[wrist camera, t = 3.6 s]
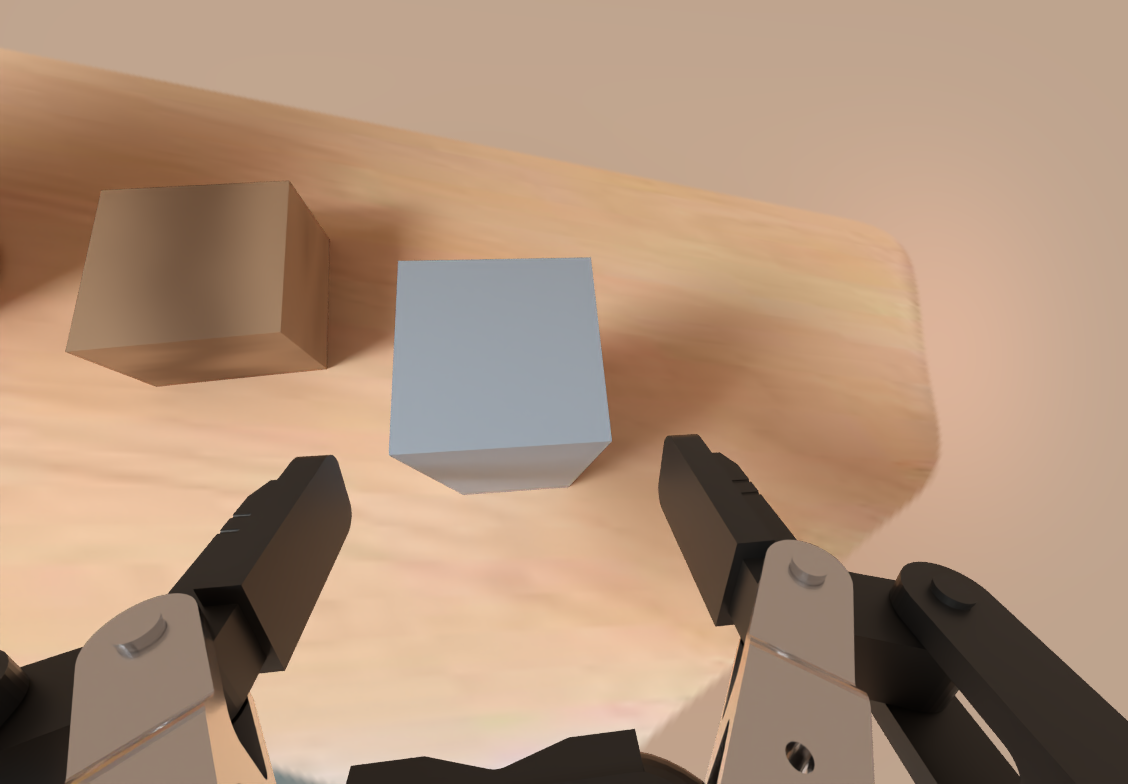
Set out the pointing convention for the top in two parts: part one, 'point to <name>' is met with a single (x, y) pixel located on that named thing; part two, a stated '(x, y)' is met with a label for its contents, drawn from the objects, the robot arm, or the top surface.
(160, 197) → the walnut block
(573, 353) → the blue block
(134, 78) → the top surface
